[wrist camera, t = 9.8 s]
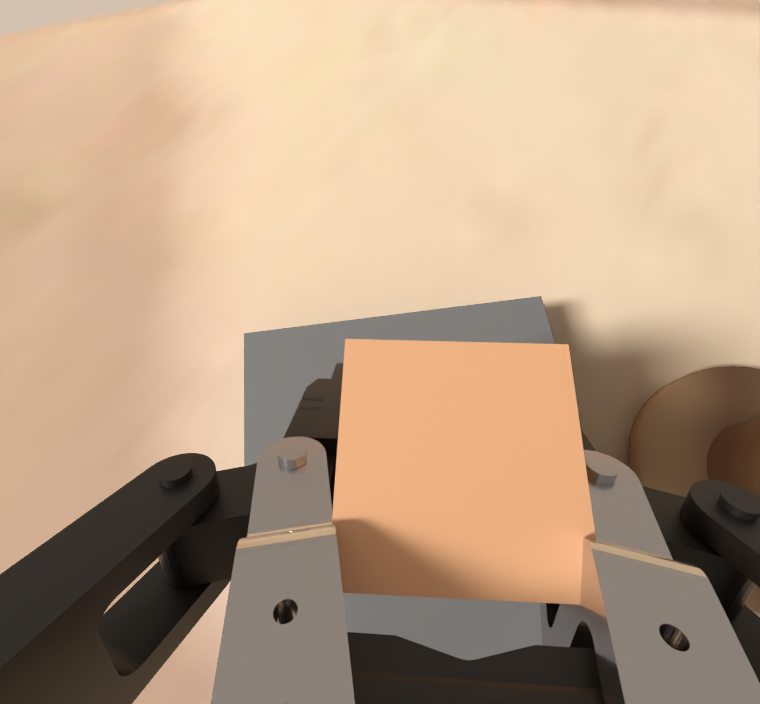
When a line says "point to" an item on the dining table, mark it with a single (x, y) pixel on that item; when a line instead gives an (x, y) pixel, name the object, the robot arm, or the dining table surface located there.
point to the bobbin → (701, 435)
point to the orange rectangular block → (460, 472)
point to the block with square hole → (318, 360)
